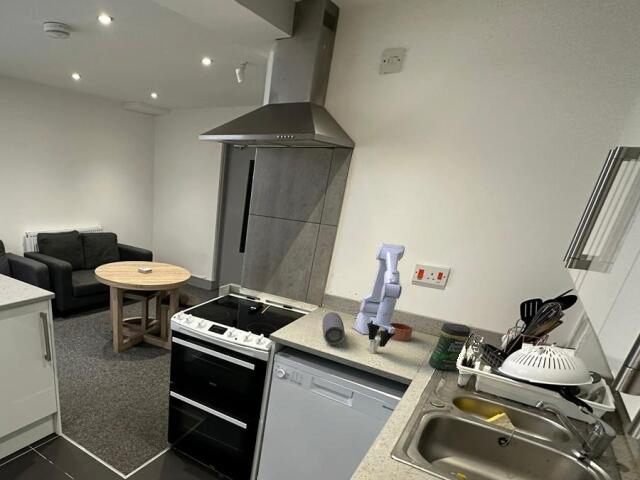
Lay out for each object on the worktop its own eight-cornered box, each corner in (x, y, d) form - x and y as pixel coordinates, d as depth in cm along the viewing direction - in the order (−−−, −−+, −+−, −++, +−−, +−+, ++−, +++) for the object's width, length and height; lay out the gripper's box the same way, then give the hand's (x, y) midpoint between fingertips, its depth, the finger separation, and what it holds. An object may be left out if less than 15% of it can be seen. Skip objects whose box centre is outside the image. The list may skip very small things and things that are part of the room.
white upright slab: (368, 349, 172) (372, 332, 169) (372, 349, 172) (376, 332, 169) (375, 356, 165) (380, 338, 162) (379, 356, 165) (384, 338, 162)
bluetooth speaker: (319, 329, 192) (323, 309, 188) (339, 332, 190) (344, 312, 186) (320, 345, 172) (325, 323, 168) (342, 348, 170) (348, 327, 166)
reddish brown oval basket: (407, 343, 183) (411, 332, 181) (383, 336, 189) (386, 326, 186) (412, 335, 194) (416, 325, 191) (389, 330, 199) (392, 319, 197)
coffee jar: (434, 370, 156) (450, 326, 149) (425, 361, 163) (440, 319, 156) (459, 372, 156) (476, 329, 148) (448, 364, 163) (464, 322, 156)
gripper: (366, 307, 167) (358, 336, 172) (387, 318, 154) (378, 349, 159) (381, 307, 168) (373, 336, 174) (403, 318, 155) (393, 349, 161)
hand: (376, 343), depth 167 cm, fingers open, 7 cm apart
